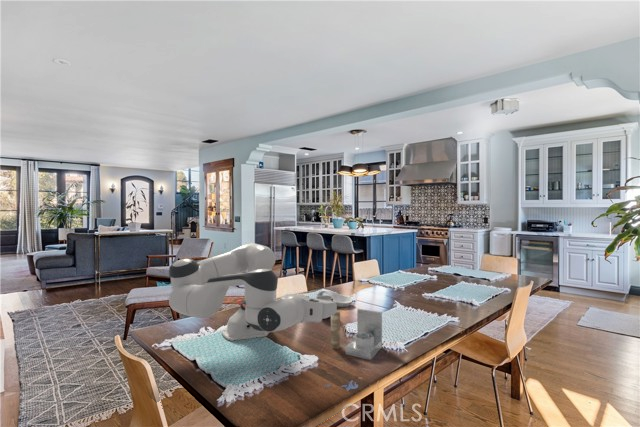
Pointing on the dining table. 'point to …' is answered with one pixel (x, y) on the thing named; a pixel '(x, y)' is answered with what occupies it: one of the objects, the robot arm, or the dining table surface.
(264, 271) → the robot arm
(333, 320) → the beige banded cylinder
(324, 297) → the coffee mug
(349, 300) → the spoon rest
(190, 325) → the dining table surface
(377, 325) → the cup bracket
